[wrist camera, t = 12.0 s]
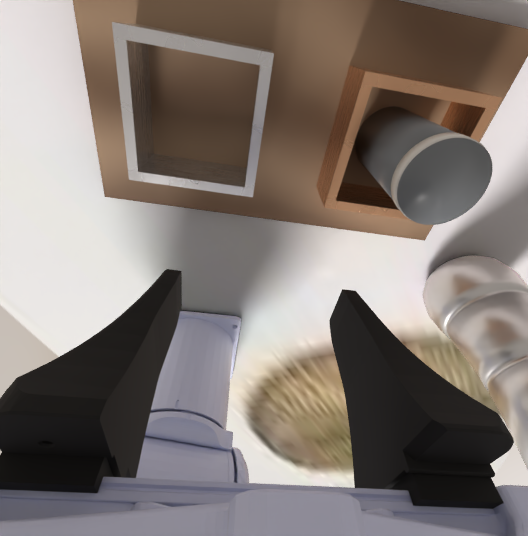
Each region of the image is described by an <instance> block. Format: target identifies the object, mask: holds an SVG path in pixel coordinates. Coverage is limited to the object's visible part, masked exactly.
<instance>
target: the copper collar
mask: <svg viewBox="0 0 528 536" xmlns="http://www.w3.org/2000/svg"><path fill="white" fill-rule="evenodd" d="M372 87H378V88H383V89H388V90H393V91H399V92H404V93H409V94H415V95H420V96H425V97H430V98H436V99H441V100H446V101H451V103H450V105H449V108H448V110H447V112H446V114H445V116H444V118H443V120H442V122H441V125H440V126H443V127H445V128H447V129H449V130H451V131H453V132H456V133H460V134H463V135H466V136H468V137H470V138H472V139H474V140H476V141H479V139H480V137H481V136H482V134H483V132H484V130H485V128H486V127H487V125H488V123H489V121H490V119H491V118H492V116H493V114H494V112H495V110H496V109H497V107H498V105H499V103H500V101H501V100H502V98H501V97H498V96H494V95H490V94H487V93H483V92H479V91H475V90H472V89H468V88H463V87H458V86H453V85H448V84H443V83H438V82H432V81H427V80H422V79H417V78H412V77H407V76H402V75H397V74H391V73H386V72H381V71H376V70H371V69H366V68H361V67H356V66H350V65H349V69H348V72H347V76H346V79H345V83H344V87H343V90H342V94H341V98H340V101H339V105H338V109H337V112H336V116H335V120H334V123H333V127H332V131H331V134H330V138H329V141H328V145H327V149H326V152H325V156H324V160H323V163H322V167H321V171H320V174H319V178H318V182H317V185H316V187H317V190H318V192H319V195H320V198H321V201H322V203H323V206H324V208H330V209H337V210H344V211H351V212H358V213H365V214H372V215H379V216H386V217H393V218H400V219H407V220H410V219H408V218H407V217H406V216H404V215H403V213H402V212H401V211H400V210H399V209H398V207H397V206H396V205H395V203H394V201H393V200H392V198H391V197H390V196H389V195H388V194H387V192H386V191H385V190H384V189H382V188H376V187H369V186H363V185H356V184H350V183H343V182H342V179H343V176H344V173H345V170H346V167H347V163H348V160H349V157H350V154H351V151H352V148H353V145H354V142H355V139H356V136H357V132H358V129H359V126H360V123H361V120H362V117H363V114H364V111H365V108H366V105H367V102H368V98H369V95H370V92H371V89H372Z"/></svg>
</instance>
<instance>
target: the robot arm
mask: <svg viewBox="0 0 528 536" xmlns="http://www.w3.org/2000/svg"><path fill="white" fill-rule="evenodd" d="M181 305H182V300H181V271H178V270H169V269H167V270H165V271H164V272H163V273H162V275H161V276H160V277H159V278H158V279H157V280H156V282H155V283H154V284H153V285H152V286H151V287H150V288H149V289H148V290H147V291H146V292H145V293H144V294H143V295H142V296H141V297H140V298H139V299H138V300H137V301H136V302H135V303H134V304H133V305H132V306H131V307H130V308H129V309H127V310H126V311H125V312H124V313H123V314H122V315H121V316H119V317H118V318H117V319H116V320H115V321H113V322H112V323H111V324H109V325H108V326H107V327H105V328H104V329H103V330H101V331H100V332H99V333H97V334H96V335H94V336H93V337H91V338H90V339H88V340H87V341H85V342H84V343H82V344H81V345H79V346H77V347H76V348H74V349H72V350H71V351H69V352H67V353H65V354H64V355H62V356H60V357H58V358H57V359H55V360H53V361H51V362H49V363H47V364H45V365H43V366H41V367H39V368H37V369H35V370H33V371H30V372H29V373H26V374H24V375H22V376H20V377H18V378H16V380H15V381H14V382H13V383H12V385H11V386H10V387H9V388H8V389H7V390H6V391H5V393H4V394H3V395H2V397H1V398H0V450H1V451H2V453H1V455H0V536H528V486H513V485H504V486H503V485H502V486H498V487H495V485H494V483H493V481H492V479H491V477H494V476H495V473H494V471H493V469H492V467H491V465H490V463H492V462H493V461H495V460H496V459H498V458H499V457H501V456H502V455H504V454H505V453H506V452H507V451H509V450H510V449H511V447H512V445H513V443H514V440H513V437H512V435H511V434H510V432H509V430H508V429H507V427H506V426H505V424H504V422H503V421H502V419H501V418H500V416H499V415H498V413H496V412H494V411H493V410H491V409H489V408H488V407H486V406H484V405H483V404H481V403H479V402H478V401H476V400H474V399H473V398H471V397H470V396H468V395H467V394H465V393H464V392H462V391H461V390H459V389H458V388H456V387H455V386H453V385H452V384H450V383H449V382H448V381H446V380H445V379H444V378H442V377H441V376H440V375H438V374H437V373H436V372H434V371H433V370H432V369H431V368H429V367H428V366H427V365H426V364H424V363H423V362H422V361H421V360H420V359H419V358H417V357H416V356H415V355H414V354H413V353H412V352H411V351H410V350H409V349H407V348H406V347H405V346H404V345H403V344H402V343H401V342H400V341H399V340H398V339H397V338H396V337H395V336H394V335H393V334H392V333H391V331H390V330H389V329H388V328H387V327H386V326H385V325H384V324H383V323H382V322H381V320H380V319H379V318H378V317H377V316H376V315H375V313H374V312H373V311H372V310H371V309H370V308H369V306H368V305H367V304H366V303H365V302H364V300H363V299H362V298H361V297H360V296H359V294H358V293H357V292H356V291H351V290H343V289H342V292H341V294H340V296H339V299H338V301H337V304H336V306H335V309H334V311H333V313H332V316H331V318H330V330H331V338H332V344H333V348H334V352H335V356H336V360H337V364H338V367H339V371H340V375H341V379H342V383H343V387H344V392H345V398H346V404H347V411H348V419H349V427H350V435H351V445H352V455H353V467H354V482H355V488H345V487H322V486H300V485H278V484H256V483H249V475H248V469H247V465H246V462H245V460H244V458H243V455H242V453H241V451H240V450H239V449H238V448H234V447H232V440H233V432H230V431H227V430H226V422H227V411H228V399H229V387H230V379H231V378H232V374H233V368H234V362H235V356H236V350H237V344H238V338H239V332H240V326H241V319H240V318H239V317H237V316H228V315H218V314H208V313H198V312H188V311H180V310H181Z"/></svg>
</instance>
